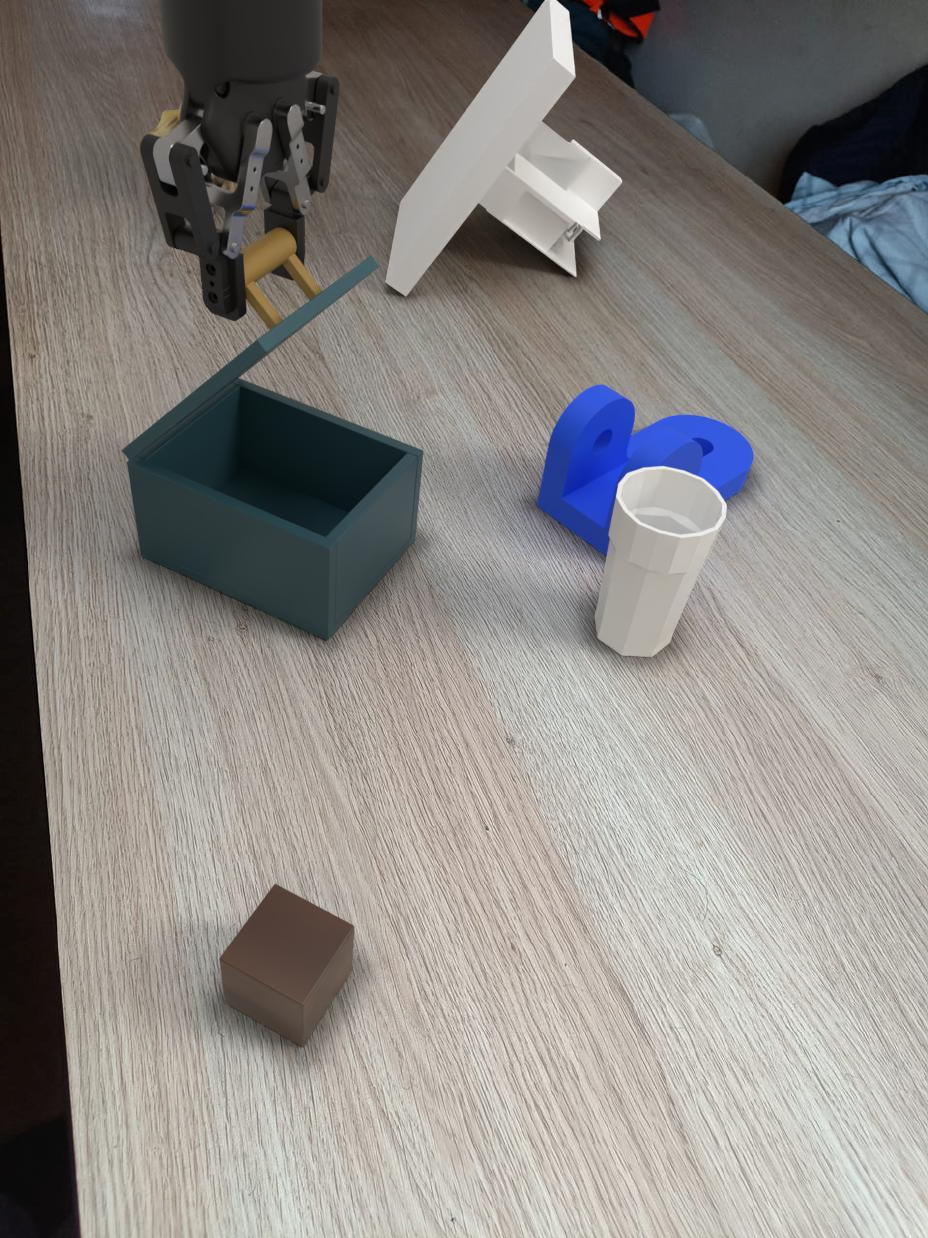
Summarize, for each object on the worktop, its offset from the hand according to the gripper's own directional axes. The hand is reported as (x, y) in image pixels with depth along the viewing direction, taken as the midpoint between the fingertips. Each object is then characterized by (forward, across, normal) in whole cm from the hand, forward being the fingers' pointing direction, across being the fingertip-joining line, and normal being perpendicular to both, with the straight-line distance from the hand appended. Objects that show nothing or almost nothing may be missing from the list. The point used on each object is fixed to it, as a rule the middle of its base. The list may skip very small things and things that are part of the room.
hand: (256, 292), depth 60 cm
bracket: (+19, -22, +21) cm, 35 cm away
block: (+19, +26, +19) cm, 37 cm away
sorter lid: (+5, 0, -1) cm, 5 cm away
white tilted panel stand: (+19, -50, -6) cm, 53 cm away
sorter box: (+19, 0, +1) cm, 19 cm away
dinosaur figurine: (+18, -42, -37) cm, 59 cm away
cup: (+19, -6, +24) cm, 32 cm away
